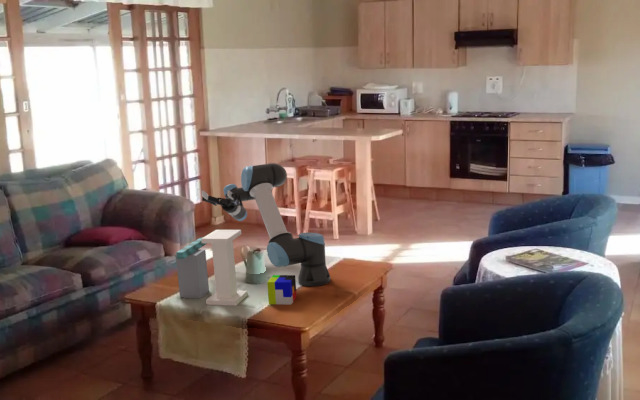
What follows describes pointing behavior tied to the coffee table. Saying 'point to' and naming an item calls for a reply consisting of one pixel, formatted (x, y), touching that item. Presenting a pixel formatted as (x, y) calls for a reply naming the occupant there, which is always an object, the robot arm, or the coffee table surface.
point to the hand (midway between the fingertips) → (215, 192)
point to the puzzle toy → (281, 289)
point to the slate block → (193, 275)
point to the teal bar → (190, 249)
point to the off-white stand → (224, 268)
